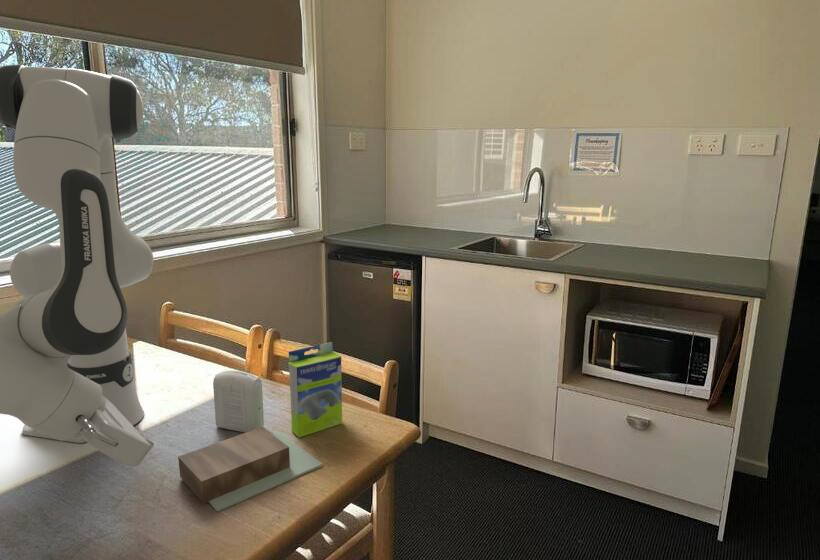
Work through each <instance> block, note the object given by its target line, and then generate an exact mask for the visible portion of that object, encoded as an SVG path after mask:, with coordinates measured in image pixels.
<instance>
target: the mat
mask: <svg viewBox="0 0 820 560" xmlns="http://www.w3.org/2000/svg"><path fill="white" fill-rule="evenodd" d="M271 434H272V435H274V436H275V437H276V438H278V439H279V440H280V441H282V442H283V443H284V444H286V445H287V446H288V447H289V455H290V467H289V468H287V469H284V470H282V471H279V472H277V473H275V474H272V475H270V476H268V477H265V478H263V479H260V480H258V481H256V482H253V483H251V484H249V485H246V486H244V487H241V488H239V489H237V490H234V491H232V492H229V493H227V494H225V495H222V496H220V497H218V498H215V499H213V500H210V501H208V503H209V505H211V506H212V507H213V509H214V510H215V511H216V512H217V513H218V512H220V511H222V510H224V509H227V508H229V507H231V506H235V504H238V503H240V502H243V501H246V500H247V499H249V498H252V497H255V496H256V495H259V494H261V493H263V492H267V491H268V490H270V489H273V488H275V487H277V486H279V485H282V484H284V483H287V482H290V481H291V480H293V479H295V478H297V477H300V476H303V475H305V474H307V473H310V472H311V471H315V470H316V469H319V468H321V467H323V462H321V461H319V460H318V459H317V458H315V457H314V456H312V455H311V454H310V453H309V452H307V451H306V450H304V448H301V447H300V446H299V445H297V444H296V443H295V442H293V441H292V440H291V439H289V438H288V437H287V436H285V435H283V434H282V433H281V432H280V431H277V432H274V433H271Z"/></svg>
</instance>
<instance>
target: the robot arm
mask: <svg viewBox="0 0 820 560" xmlns="http://www.w3.org/2000/svg"><path fill="white" fill-rule="evenodd" d="M144 113H145V110H144V104H143V100H142V96H141V94H140V92H139V91H138V87H137V86H136V84H135V83H134V82H133V80H130V79H129V78H126V77H124V76H120V75H115V74H111V75H108V74H103V73H99V72H95V71H90V70H85V69H81V68H80V69H79V68H71V67H68V68H59V67H48V66H46V67H45V66H44V67H43V66H25V65H23V64H10V65H9V64H7V65H3V66H0V123H1V124H3V125H4V126H5V127H7V128H9V129H12V130H15V131H14V141H13V142H14V143H13V156H12V157H13V159H12V162H13V165H12V166H13V174H14V179H15V184H16V187H17V189H18V191H20V193H21V194H22V195H23V196H24V197H25V198H26V199H27V200H29V201H30V202H31V203H33V204H35V205H37V206H39V207H41V208H43V209H48V210H51V211H53V212H54V214H55V216H56V218H57V222H58V226H59V227H58V228H59V241H57V242H56V241H54V242H46V243H43V244H39V245H35V246H31V247H29V248H26V249H24V250H21V251H18V252H17V254H16V255H15V256H14V258H13V259H12V262H11V264H10V270H9V276H10V281H11V284H12V285H13V287H14V289H15V290H16V292H17V293H19V294H20V295H21V296H22V297H23V298H22V299H21V300H19V301H17V303H16V304H14V305H12V307H10V308H9V309H8V310H6V311H4V312H2V313H1V314H0V414H1V415H5V416H6V415H8V416H12V417H14V418H16V419H18V420H19V421H20V422H22V423H23V427H22V434H23V435H25V436H31V437H36V438H44V439H50V440H56V441H63V442H70V443H75V444H83V443H87V444H88V445H90V446H91V447H92V448H94V449H95V450H97V451H99V452H100V453H102V454H104V455H106V456H107V457H110V458H112V459H114V460H115V461H118V462H120V463H122V464H124V465H126V466H128V467H131V468H134V467H138V466H139V465H140V464H141V462H143V459H144V458H145V457H146V456H147V455H148V454H149V452H150V451H151V450H152V448H154V445H155V443H154V442H153V440H151V438H150V437H148V435H146V434H144V433H142V432H140V431H139V430H137V429H136V427H135V426H134V425H136V424H138V423H139V422H140V421H141V420H142V419H143V418H144V416H145V411H144V409H143V408H142V405H141V402H140V399H139V398H138V395H137V391H136V390H137V389H136V388H135V382H134V368H133V367H134V366H133V358H132V353H131V352H130V351H129V345H128V344H129V343H128V336H127V328H126V327H127V325H128V324H127V323H128V316H129V315H128V307H127V303H126V300H125V297H124V295H123V292H122V290H121V288H126V287H129V286H132V285H134V284H137V283H140V282H141V281H143V280H146V279H147V278H148V277H150V274H151V273H152V270H153V269H154V262H155V261H154V255H153V251H152V249H151V247H150V245H149V244H148V243H147V242H146V241H145V240H144V239H143V238H142V237H140V236H138V235H137V234H136V233H134V232H133V231H132V230H131V229H130V228H129V227H128V226H127V225H126V223H125V221H124V219H123V218H122V215H121V213H120V210H119V204H118V198H117V187H116V170H115V169H116V167H115V155H114V148H113V141H112V139H114V141H115V142H116V143H120V142H121V141H122V140H124V139H128V138H131V137H133V135H134V136H135V134H136V133H137V132H138V131H139V128H140V126H141V124H142V122H143V119H144Z"/></svg>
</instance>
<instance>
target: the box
mask: <svg viewBox="0 0 820 560" xmlns="http://www.w3.org/2000/svg"><path fill="white" fill-rule="evenodd" d="M333 348H334V347H333V341H330V342H326V343H320V344H317V345H312V346H309V347H304V348H299V349H295V350H290V351H288V363H287V365H288V371H289V388H290V389H289V390H290V393H289V394H290V410H291V412H290V413H291V432H292V433H294V435H295V436H297V437H298V438H302V437H305V436H308V435H310V434H313V433H317V432H321V431H323V430H327V429H329V428H332V427H336V426H339V425H342V424H343V404H342V403H343V401H342V400H343V389H342V388H343V386H342V383H343V382H342V380H343V379H342V356H341V355H340V354H338V353H336V352H335V351H334V349H333ZM311 350H317V351H316V352H313V353H308V354H305V353H307V352H310V351H311Z"/></svg>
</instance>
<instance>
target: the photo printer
mask: <svg viewBox="0 0 820 560" xmlns="http://www.w3.org/2000/svg"><path fill="white" fill-rule="evenodd" d="M212 386H213V387H212V388H213V400H214V401H213V403H214V415H215V416H214V417H215V418H214V419H215V426H216V427H217V428H221V429H225V430H230V431H236V432H240V433H246V432H249V431H252V430H255V429H258V428H261V427H263V428H264V422H265V421H264V417H265V416H264V398H263V383H262V380H261V379H260V378H259V377H258V376H256V375H254V374H252V373H249V372H245V371H240V370H224V371H220V372H218V373H216V374H215V375H214V378H213V382H212Z"/></svg>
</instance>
